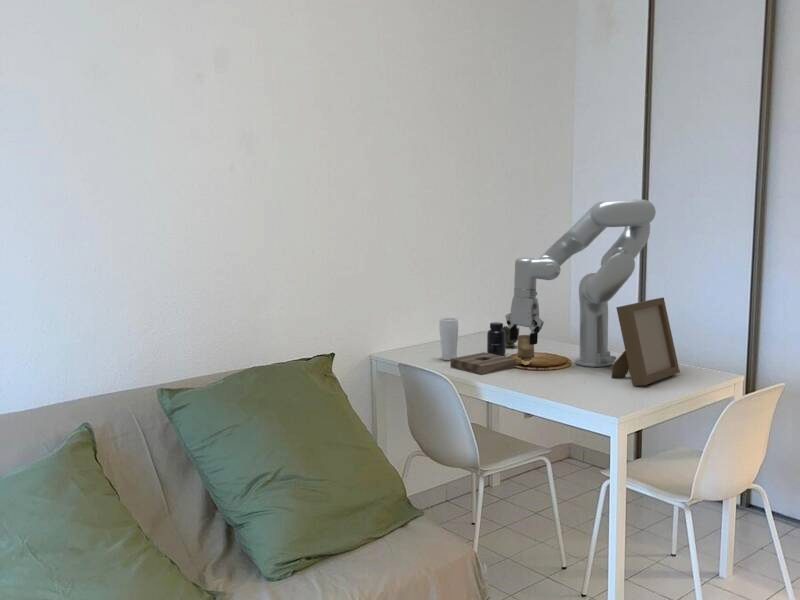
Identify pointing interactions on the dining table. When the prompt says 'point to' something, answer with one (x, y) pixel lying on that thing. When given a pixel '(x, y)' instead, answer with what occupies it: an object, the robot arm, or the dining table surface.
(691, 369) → the dining table surface
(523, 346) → the tan translucent cylinder
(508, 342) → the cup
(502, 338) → the supplement bottle
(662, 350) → the photo frame
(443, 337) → the drinking glass
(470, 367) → the walnut socket block
